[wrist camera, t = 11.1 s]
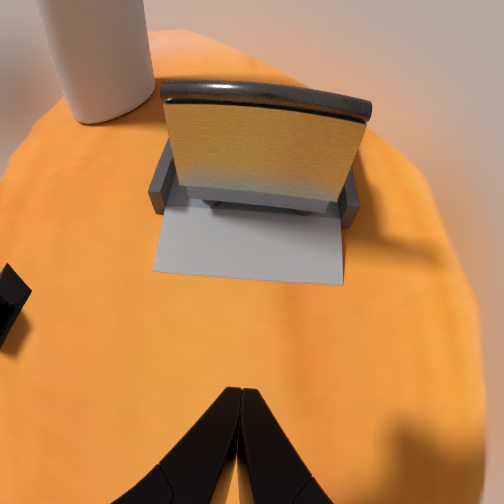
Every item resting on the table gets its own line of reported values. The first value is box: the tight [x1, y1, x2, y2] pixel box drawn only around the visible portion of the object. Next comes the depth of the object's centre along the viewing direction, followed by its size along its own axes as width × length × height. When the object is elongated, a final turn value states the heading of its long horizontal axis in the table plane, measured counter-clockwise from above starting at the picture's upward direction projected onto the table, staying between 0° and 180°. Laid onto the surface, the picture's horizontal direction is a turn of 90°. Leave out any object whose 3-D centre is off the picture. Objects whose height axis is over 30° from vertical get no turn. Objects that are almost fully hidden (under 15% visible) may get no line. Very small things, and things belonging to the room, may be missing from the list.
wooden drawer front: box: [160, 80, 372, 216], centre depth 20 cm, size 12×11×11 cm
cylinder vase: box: [36, 0, 155, 124], centre depth 22 cm, size 12×12×25 cm
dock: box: [148, 138, 360, 285], centre depth 24 cm, size 19×16×5 cm
